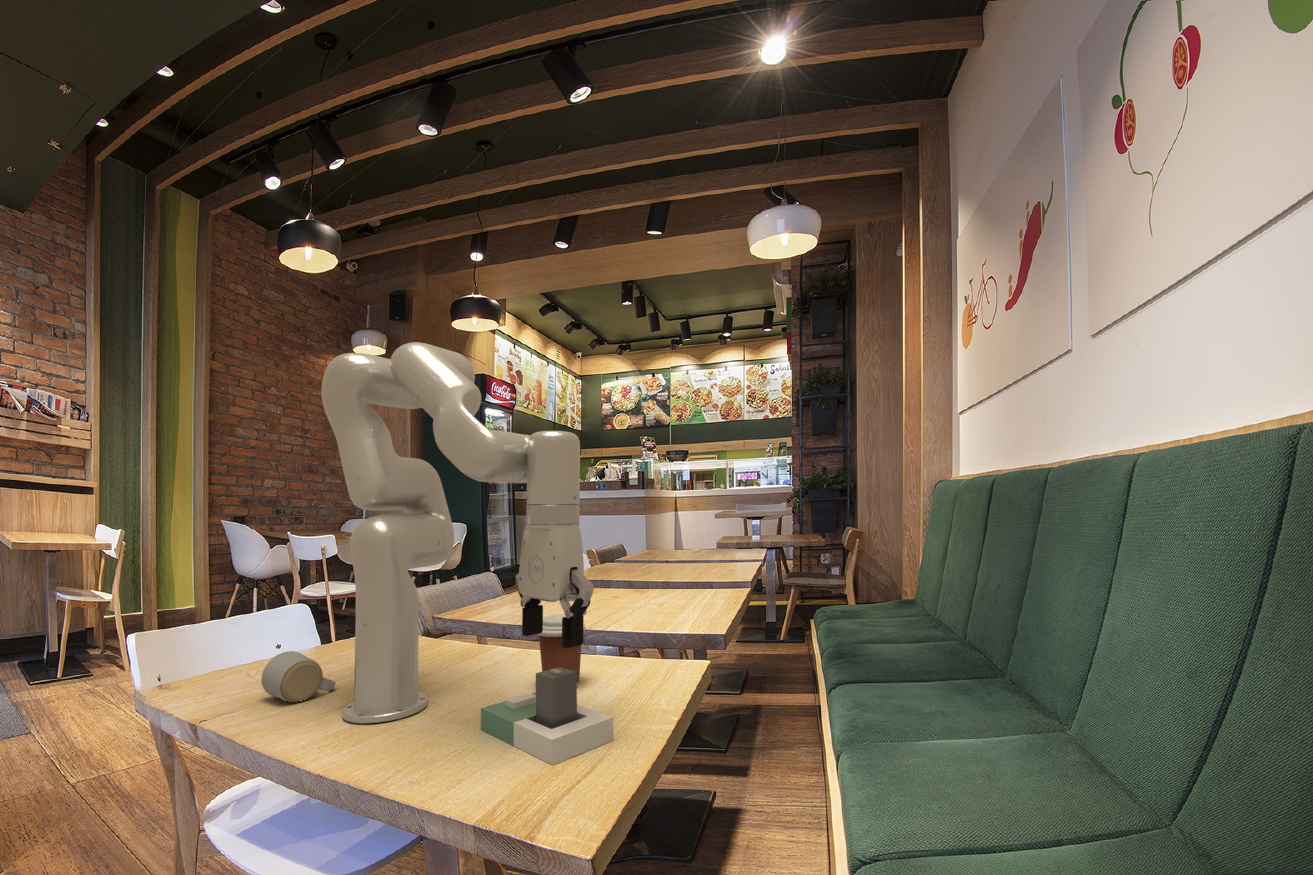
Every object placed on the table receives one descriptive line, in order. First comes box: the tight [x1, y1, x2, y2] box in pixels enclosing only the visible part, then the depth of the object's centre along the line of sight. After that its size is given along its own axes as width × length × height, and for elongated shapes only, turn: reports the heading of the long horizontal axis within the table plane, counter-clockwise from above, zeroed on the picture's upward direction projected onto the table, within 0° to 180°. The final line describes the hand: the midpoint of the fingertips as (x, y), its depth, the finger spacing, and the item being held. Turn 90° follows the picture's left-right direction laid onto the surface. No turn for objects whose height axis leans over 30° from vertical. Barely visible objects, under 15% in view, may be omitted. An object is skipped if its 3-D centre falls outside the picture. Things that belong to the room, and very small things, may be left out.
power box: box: [480, 691, 614, 766], centre depth 83 cm, size 18×10×4 cm, turn 45°
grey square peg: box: [535, 667, 578, 729], centre depth 81 cm, size 4×4×9 cm
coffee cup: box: [535, 613, 587, 688], centre depth 106 cm, size 9×9×12 cm
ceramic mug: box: [261, 650, 336, 703], centre depth 105 cm, size 11×8×8 cm
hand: (551, 640), depth 82 cm, fingers open, 9 cm apart
